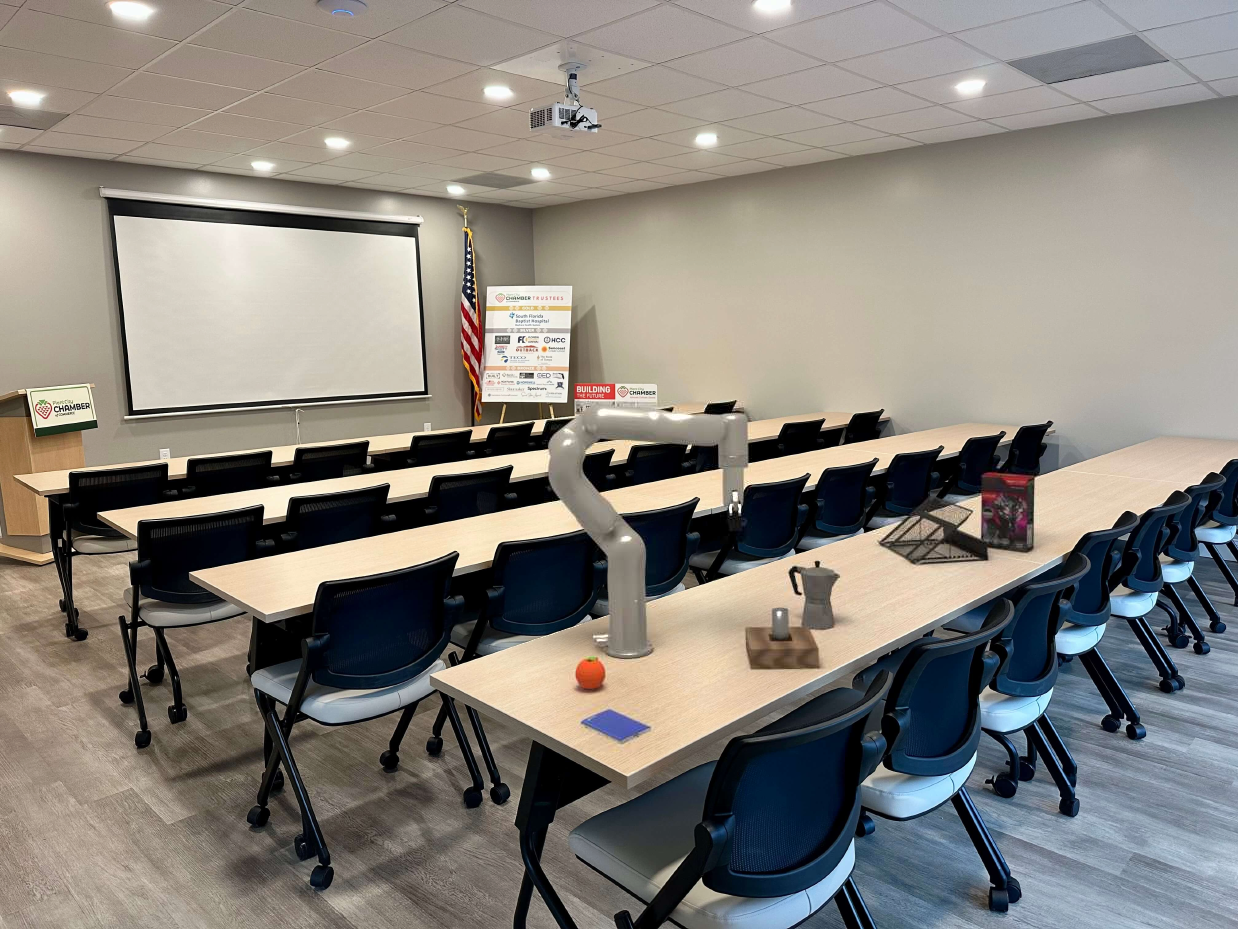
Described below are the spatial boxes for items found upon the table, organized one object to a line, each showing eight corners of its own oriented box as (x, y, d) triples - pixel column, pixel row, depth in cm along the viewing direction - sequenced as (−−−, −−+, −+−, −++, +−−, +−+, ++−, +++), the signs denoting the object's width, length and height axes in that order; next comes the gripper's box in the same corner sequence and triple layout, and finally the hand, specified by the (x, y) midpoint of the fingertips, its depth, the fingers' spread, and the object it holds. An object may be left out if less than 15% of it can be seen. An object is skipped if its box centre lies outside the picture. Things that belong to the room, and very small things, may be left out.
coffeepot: (848, 624, 228) (847, 560, 226) (832, 633, 221) (831, 567, 219) (797, 614, 238) (797, 553, 236) (780, 623, 231) (780, 560, 229)
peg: (773, 660, 204) (772, 612, 203) (771, 654, 208) (770, 607, 207) (789, 659, 204) (789, 612, 202) (787, 654, 208) (787, 607, 206)
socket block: (750, 669, 199) (750, 649, 198) (745, 646, 215) (745, 627, 214) (818, 668, 198) (818, 648, 197) (808, 645, 213) (808, 626, 213)
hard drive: (580, 720, 172) (621, 739, 163) (610, 708, 178) (650, 725, 168) (580, 727, 172) (621, 746, 163) (610, 715, 178) (651, 733, 169)
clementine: (585, 679, 197) (584, 650, 196) (612, 682, 194) (611, 652, 193) (571, 692, 190) (569, 662, 189) (598, 695, 187) (597, 665, 186)
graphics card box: (979, 546, 309) (980, 474, 306) (987, 543, 314) (988, 471, 310) (1026, 553, 297) (1028, 477, 293) (1034, 550, 301) (1036, 475, 298)
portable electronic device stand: (875, 545, 320) (875, 498, 317) (946, 541, 322) (946, 494, 319) (912, 566, 287) (912, 514, 285) (990, 561, 289) (991, 510, 287)
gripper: (717, 457, 223) (718, 520, 226) (719, 466, 206) (721, 534, 208) (745, 457, 223) (746, 520, 225) (750, 465, 206) (751, 533, 208)
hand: (734, 526), depth 217 cm, fingers open, 9 cm apart
